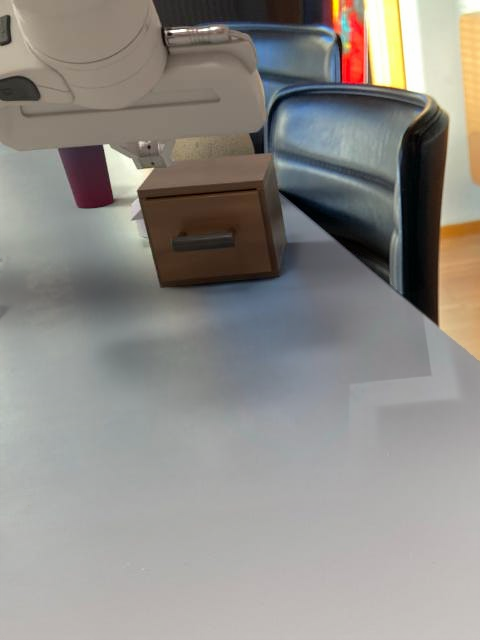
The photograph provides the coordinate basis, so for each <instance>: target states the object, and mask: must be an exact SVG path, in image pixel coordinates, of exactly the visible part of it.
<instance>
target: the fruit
mask: <svg viewBox="0 0 480 640" xmlns="http://www.w3.org/2000/svg"><path fill="white" fill-rule="evenodd" d="M175 140H176V143H175V145H174V147H173V149H172V153H173V161H182V160H194V159H205V158H217V157H229V156H241V155H253V154H256V153H255V147H254V143H253V141H252V138H251V135H250V133H243V134H231V135H218V136H205V137H193V138H180V139H175Z"/></svg>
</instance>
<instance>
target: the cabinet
mask: <svg viewBox="0 0 480 640" xmlns="http://www.w3.org/2000/svg"><path fill="white" fill-rule="evenodd" d="M277 178H278V177H277V172H276V167H275V161H274V155H273V152H265V153H255V154H253V155H241V156H229V157H217V158H205V159H194V160H182V161H174V160H173V167H161V168H152V170H151V171H150V173H149V174H148V176H147V177H146V178H145V179H144V180H143V182H141V184H140V186H139V187H138V188H137V190H136V194H137V198H139V203H140V207H141V211H142V215H143V219H144V223H145V227H146V231H147V235H148V238H147V239H148V244H149V247H150V251H151V256H152V260H153V263H154V268H155V272H156V277H157V280H158V283H159V284H158V285H159V287H160V288H168V287H179V286H189V285H190V286H191V285H199V284H201V285H202V284H210V283H224V282H233V281H234V282H235V281H245V280H246V281H247V280H255V279H256V280H258V279H268V278H269V279H270V278H280V276H281V273H282V272H281V271H282V267H283V262H284V259H285V254H286V250H287V245H288V239H287V232H286V227H285V220H284V215H283V213H284V212H283V208H282V201H281V197H280V191H279V185H278V179H277ZM246 189H257V190H259V195H260V201H261V207H262V212H263V218H264V224H265V229H266V235H267V240H268V246H269V252H270V257H271V263H272V272H262V273H251V274H240V275H229V276H218V277H207V278H195V279H184V280H173V281H162V279H161V275H160V271H159V267H158V263H157V259H156V254H155V250H154V246H153V242H152V238H151V234H150V230H149V226H148V221H147V217H146V213H145V209H144V205H143V202H144V200H146V199H155V197H164V196H176V195H187V194H199V193H211V192H222V191H234V190H246Z"/></svg>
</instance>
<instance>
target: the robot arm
mask: <svg viewBox="0 0 480 640" xmlns="http://www.w3.org/2000/svg"><path fill="white" fill-rule="evenodd" d="M258 62H259V58H258V55H257V51H256V46H255V43H254V42H253V39H252V37H251V36H250V35H249V34H247V33H243V32H241V31H239V30H235V29H229V26H228V25H227V24H224V23H223V24H222V23H213V24H207V26H173V27H171V26H169V27H163V26H162V22H161V20H160V16H159V14H158V12H157V10H156V7H155V4H154V1H153V0H0V143H1V144H2V145H3V146H6V147H8V148H10V149H12V150H14V151H18V152H29V151H40V150H54V149H57V148H67V147H80V146H92V145H103V146H105V145H109V147H110V148H111V149H112V150H114V151H116V152H118V153H119V154H121V155H122V156H125V157H127V158H129V159H131V160H132V162H133V164H134V167H135V169H136V170H138V171H139V170H145V169H154V168H161V167H173V161H174V160H173V153H172V149H173V147H174V145H175V143H176V140H175V139H180V138H193V137H205V136H218V135H231V134H243V133H249V134H254V133H258V132H259V131H261V129H262V128H263V127H264V125H266V123H267V104H266V96H265V88H264V84H263V80H262V78H261V76H260V73H259V71H258V68H257V66H258Z"/></svg>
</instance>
